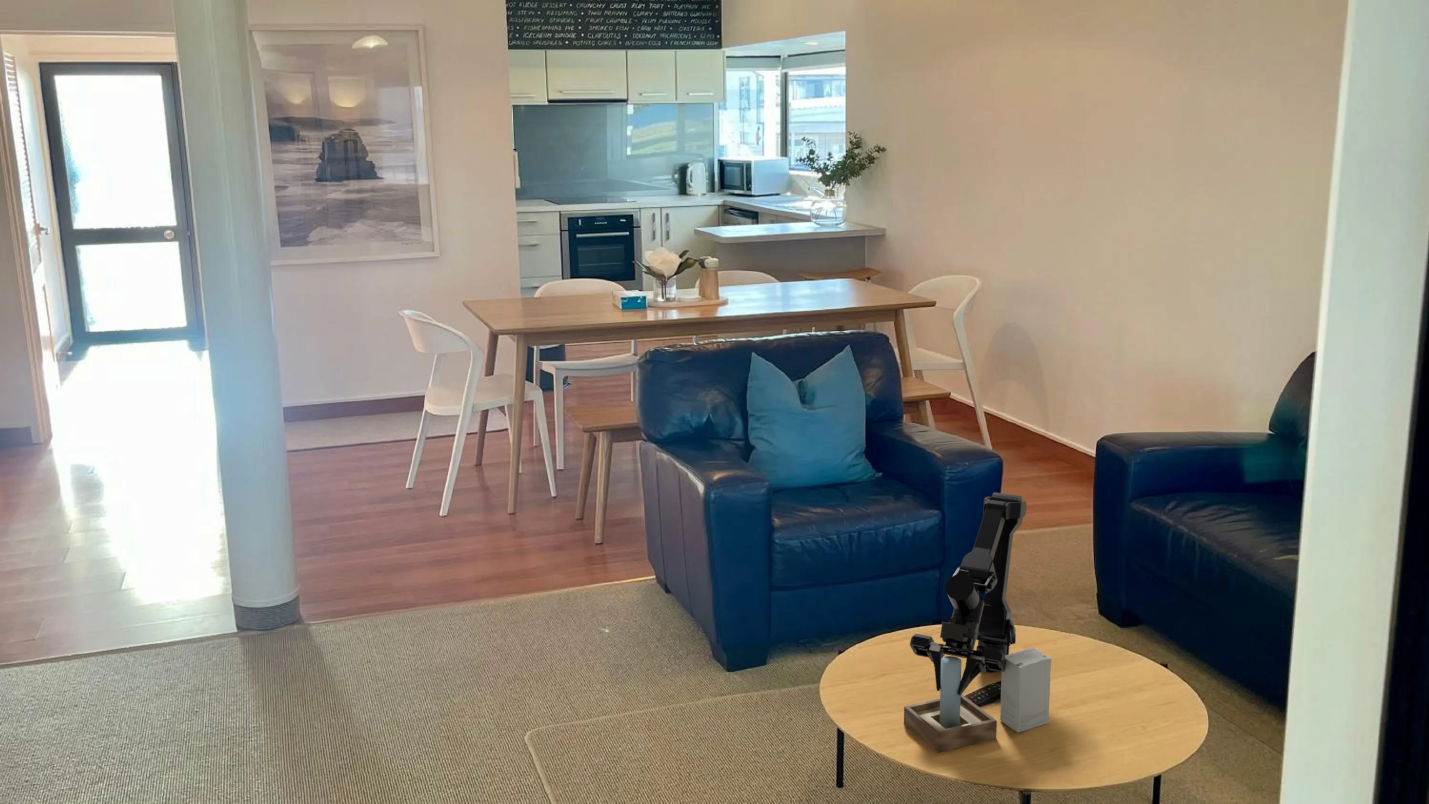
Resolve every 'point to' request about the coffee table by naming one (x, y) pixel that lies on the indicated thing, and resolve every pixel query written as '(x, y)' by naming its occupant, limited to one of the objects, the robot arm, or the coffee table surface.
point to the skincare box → (1025, 690)
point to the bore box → (970, 731)
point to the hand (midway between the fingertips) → (948, 692)
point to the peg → (950, 692)
